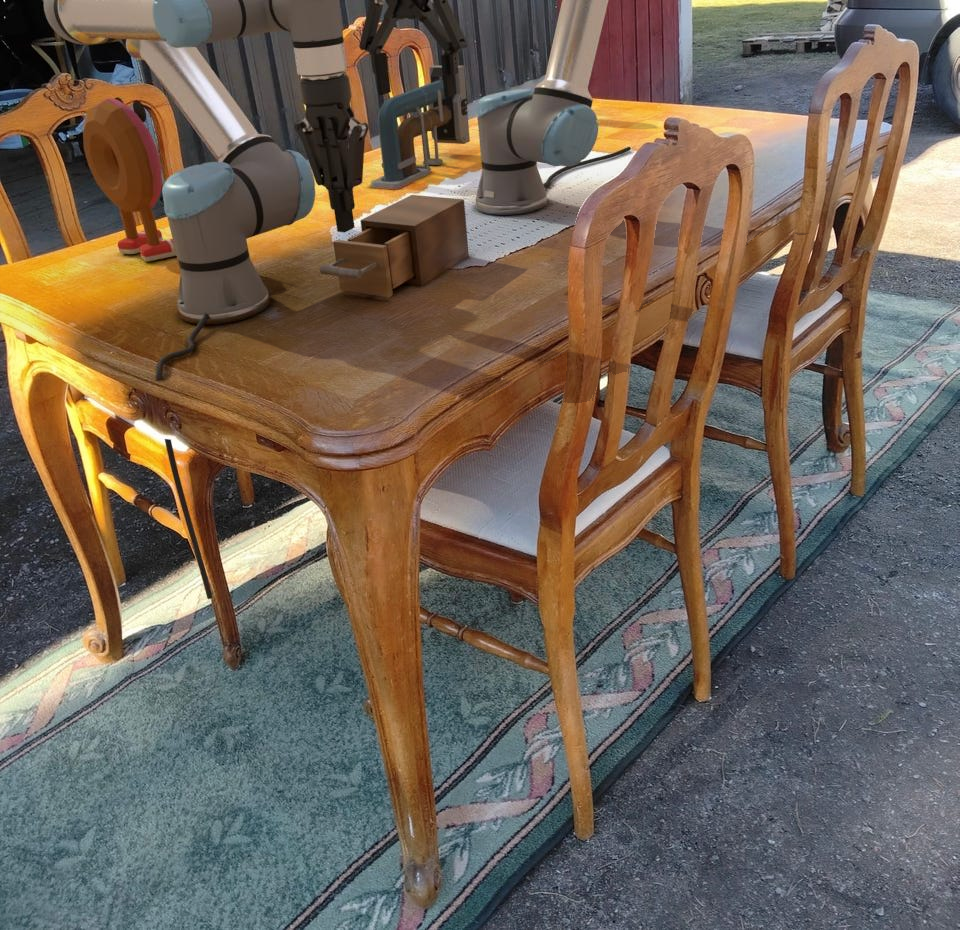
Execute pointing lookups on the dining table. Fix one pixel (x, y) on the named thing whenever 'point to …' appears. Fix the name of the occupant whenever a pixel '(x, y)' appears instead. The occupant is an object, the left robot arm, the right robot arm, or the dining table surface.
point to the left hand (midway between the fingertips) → (346, 229)
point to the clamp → (420, 128)
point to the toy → (127, 172)
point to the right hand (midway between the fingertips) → (417, 94)
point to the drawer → (373, 261)
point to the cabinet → (427, 232)
